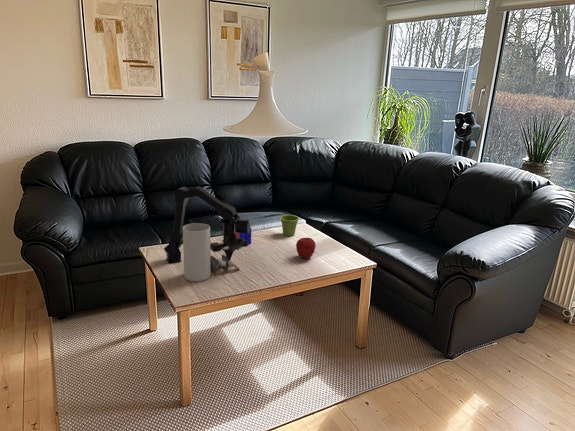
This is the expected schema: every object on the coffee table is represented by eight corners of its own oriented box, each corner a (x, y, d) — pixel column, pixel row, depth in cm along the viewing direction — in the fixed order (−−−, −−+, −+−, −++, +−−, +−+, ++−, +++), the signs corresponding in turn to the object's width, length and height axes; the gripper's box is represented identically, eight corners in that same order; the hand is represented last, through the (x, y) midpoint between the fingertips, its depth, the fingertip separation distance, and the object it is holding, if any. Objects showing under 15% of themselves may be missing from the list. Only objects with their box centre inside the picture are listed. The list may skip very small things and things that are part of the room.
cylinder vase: (212, 280, 202) (211, 230, 195) (185, 283, 198) (183, 232, 191) (209, 270, 213) (208, 222, 206) (183, 272, 210) (181, 223, 202)
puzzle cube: (239, 248, 244) (240, 231, 241) (227, 243, 250) (227, 227, 247) (251, 243, 252) (251, 227, 249) (239, 239, 257) (239, 223, 255)
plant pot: (275, 234, 269) (276, 217, 266) (287, 230, 278) (288, 213, 274) (290, 239, 262) (290, 221, 258) (301, 234, 270) (302, 217, 267)
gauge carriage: (224, 271, 209) (224, 262, 208) (216, 263, 217) (216, 255, 216) (232, 269, 211) (232, 261, 210) (223, 262, 219) (223, 254, 218)
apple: (304, 252, 242) (306, 232, 238) (319, 258, 235) (320, 238, 231) (291, 256, 234) (292, 236, 231) (305, 262, 227) (306, 242, 224)
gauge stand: (215, 275, 207) (215, 264, 205) (206, 266, 217) (205, 255, 215) (239, 270, 214) (239, 259, 212) (229, 262, 223) (229, 251, 222)
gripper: (218, 239, 201) (218, 269, 206) (253, 233, 211) (252, 262, 215) (209, 232, 210) (209, 261, 215) (243, 227, 220) (242, 255, 224)
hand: (228, 260), depth 217 cm, fingers closed
